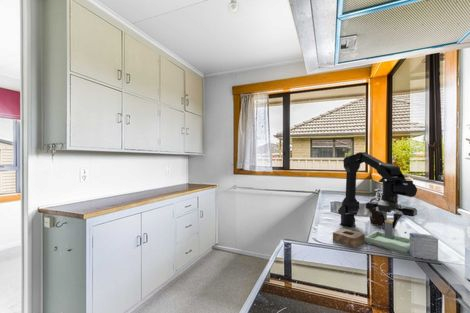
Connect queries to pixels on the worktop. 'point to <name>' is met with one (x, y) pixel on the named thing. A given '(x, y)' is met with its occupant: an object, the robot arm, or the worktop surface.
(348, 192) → the robot arm
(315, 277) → the worktop surface
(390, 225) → the pin
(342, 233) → the brown block with hole
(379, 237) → the tray
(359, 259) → the worktop surface
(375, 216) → the coffee mug
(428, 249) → the medicine box
